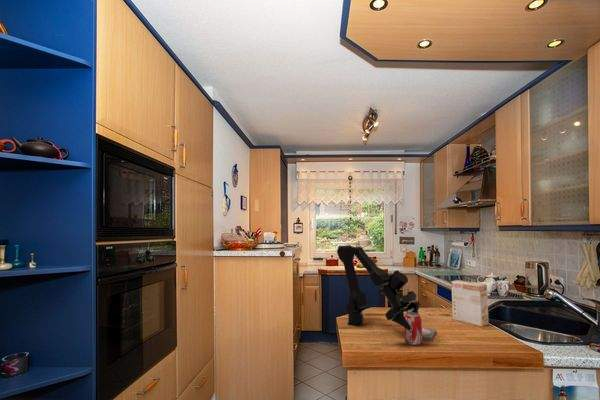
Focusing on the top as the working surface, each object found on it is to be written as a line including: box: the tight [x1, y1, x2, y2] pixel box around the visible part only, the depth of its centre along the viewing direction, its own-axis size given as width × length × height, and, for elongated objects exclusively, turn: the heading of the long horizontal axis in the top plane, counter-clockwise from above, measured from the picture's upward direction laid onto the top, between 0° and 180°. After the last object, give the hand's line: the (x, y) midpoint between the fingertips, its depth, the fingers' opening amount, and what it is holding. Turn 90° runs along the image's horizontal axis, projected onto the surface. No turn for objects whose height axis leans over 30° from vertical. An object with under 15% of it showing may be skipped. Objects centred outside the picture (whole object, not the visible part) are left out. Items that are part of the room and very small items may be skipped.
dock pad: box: [402, 327, 437, 341], centre depth 152 cm, size 12×12×1 cm
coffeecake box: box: [450, 279, 490, 327], centre depth 169 cm, size 15×7×20 cm, turn 34°
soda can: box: [403, 312, 423, 346], centre depth 142 cm, size 7×7×12 cm
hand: (415, 327), depth 141 cm, fingers open, 8 cm apart
